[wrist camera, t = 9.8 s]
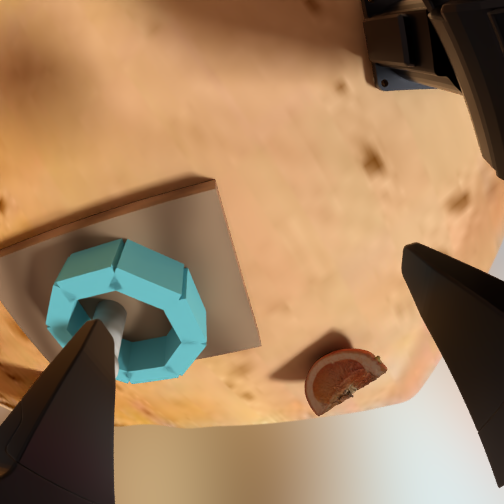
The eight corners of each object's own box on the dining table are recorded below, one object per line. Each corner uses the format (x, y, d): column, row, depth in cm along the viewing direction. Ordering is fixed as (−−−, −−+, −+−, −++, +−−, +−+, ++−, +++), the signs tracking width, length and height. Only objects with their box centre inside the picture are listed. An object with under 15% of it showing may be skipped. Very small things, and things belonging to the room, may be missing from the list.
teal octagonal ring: (170, 224, 19) (165, 252, 16) (218, 339, 25) (220, 369, 22) (37, 265, 19) (20, 292, 16) (104, 359, 25) (98, 387, 22)
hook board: (215, 179, 19) (219, 251, 13) (258, 332, 27) (274, 412, 20) (-14, 256, 19) (-60, 322, 13) (66, 365, 27) (49, 431, 21)
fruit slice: (353, 321, 28) (372, 363, 24) (385, 345, 31) (403, 381, 27) (287, 369, 31) (297, 410, 27) (325, 386, 34) (336, 422, 30)
